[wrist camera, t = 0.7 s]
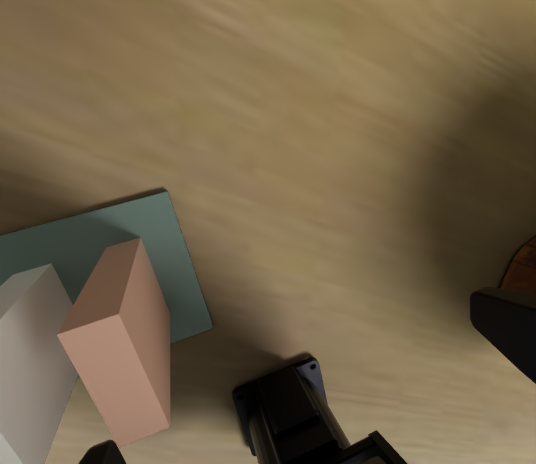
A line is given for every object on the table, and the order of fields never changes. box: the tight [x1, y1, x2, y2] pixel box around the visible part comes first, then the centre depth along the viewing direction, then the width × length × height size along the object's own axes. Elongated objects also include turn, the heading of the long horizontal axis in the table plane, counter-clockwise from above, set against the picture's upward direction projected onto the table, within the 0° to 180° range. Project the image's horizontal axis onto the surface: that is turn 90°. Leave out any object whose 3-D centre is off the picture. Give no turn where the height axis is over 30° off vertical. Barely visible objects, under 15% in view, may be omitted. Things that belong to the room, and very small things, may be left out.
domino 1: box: [0, 263, 78, 464], centre depth 13 cm, size 5×2×8 cm, turn 13°
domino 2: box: [57, 237, 170, 448], centre depth 14 cm, size 5×2×8 cm, turn 13°
